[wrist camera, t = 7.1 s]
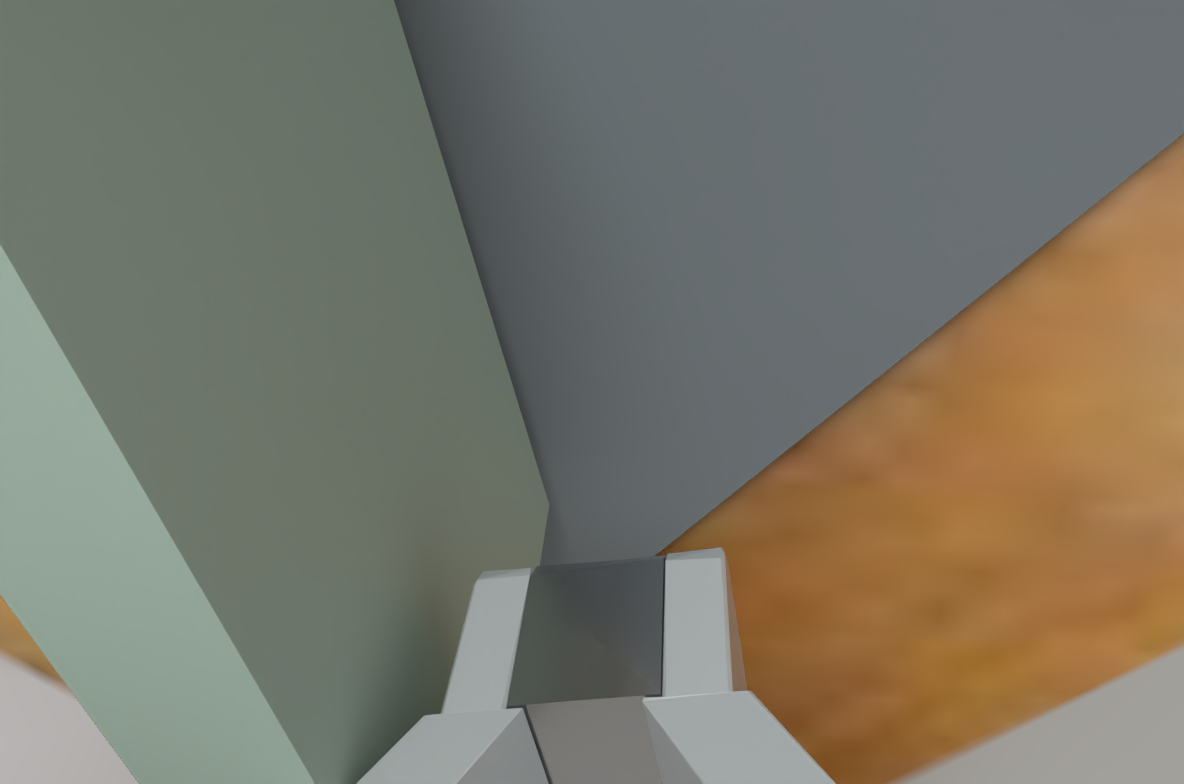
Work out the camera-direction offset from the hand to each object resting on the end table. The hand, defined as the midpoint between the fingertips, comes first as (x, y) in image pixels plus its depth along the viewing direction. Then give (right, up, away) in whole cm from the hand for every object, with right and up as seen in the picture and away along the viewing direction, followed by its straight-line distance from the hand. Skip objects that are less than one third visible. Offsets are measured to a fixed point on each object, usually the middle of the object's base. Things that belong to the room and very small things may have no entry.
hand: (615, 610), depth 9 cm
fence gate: (-2, +4, +3) cm, 5 cm away
